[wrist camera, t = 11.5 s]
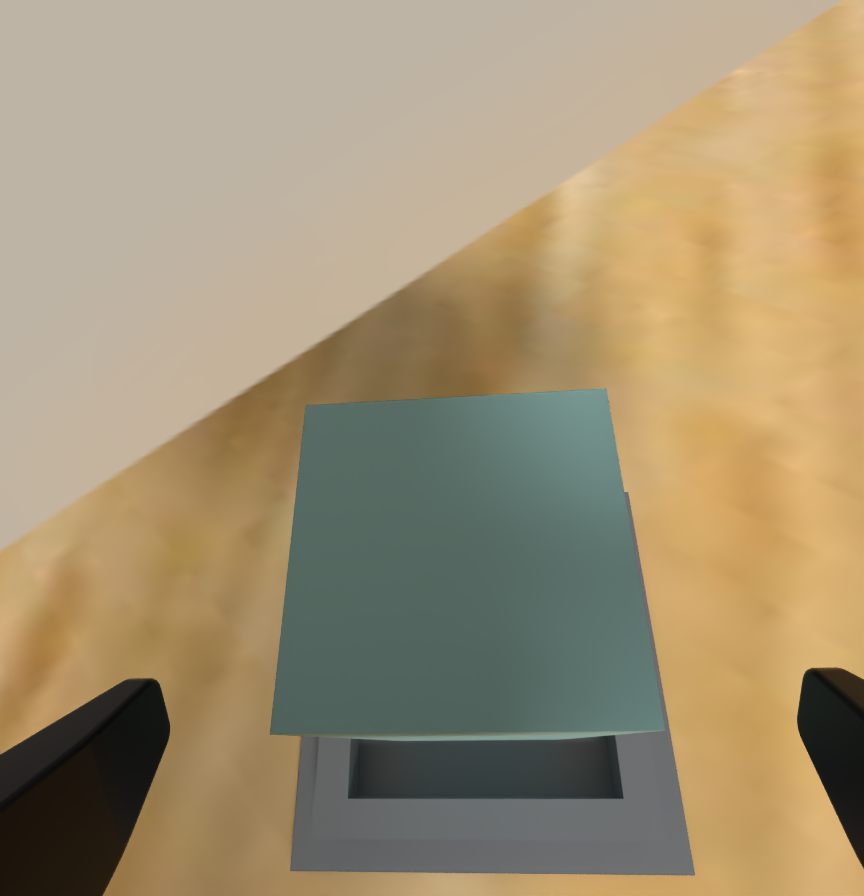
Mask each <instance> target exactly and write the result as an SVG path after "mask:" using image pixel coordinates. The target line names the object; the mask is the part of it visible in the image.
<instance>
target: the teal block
mask: <svg viewBox="0 0 864 896" xmlns="http://www.w3.org/2000/svg"><path fill="white" fill-rule="evenodd" d="M655 731H665V726H664V720H663V714H662V708H661V702H660V697H659V691H658V685H657V679H656V673H655V668H654V662H653V656H652V650H651V645H650V639H649V633H648V627H647V621H646V616H645V610H644V604H643V598H642V592H641V587H640V581H639V575H638V569H637V563H636V558H635V552H634V546H633V540H632V534H631V529H630V523H629V517H628V511H627V505H626V500H625V494H624V488H623V482H622V476H621V471H620V465H619V459H618V453H617V448H616V442H615V436H614V430H613V424H612V419H611V413H610V407H609V401H608V395H607V390H606V389H589V390H571V391H553V392H536V393H518V394H500V395H482V396H464V397H447V398H429V399H411V400H393V401H375V402H358V403H340V404H322V405H306V407H305V416H304V425H303V435H302V444H301V453H300V462H299V471H298V480H297V490H296V499H295V508H294V517H293V526H292V536H291V545H290V554H289V563H288V572H287V581H286V591H285V600H284V609H283V618H282V627H281V637H280V646H279V655H278V664H277V673H276V682H275V692H274V701H273V710H272V719H271V728H270V734H271V735H292V736H312V737H332V738H352V739H372V740H392V741H476V740H562V739H574V738H585V737H597V736H608V735H620V734H632V733H643V732H655Z"/></svg>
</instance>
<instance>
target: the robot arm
mask: <svg viewBox="0 0 864 896" xmlns="http://www.w3.org/2000/svg"><path fill="white" fill-rule="evenodd" d="M797 724H798V730H799V733H800V736H801V739H802V741H803V743H804V745H805V747H806V750H807V752H808V754H809V756H810V758H811V760H812V762H813V764H814V767H815V769H816V771H817V773H818V775H819V777H820V779H821V782H822V784H823V786H824V788H825V790H826V792H827V794H828V797H829V799H830V801H831V803H832V805H833V807H834V809H835V812H836V814H837V816H838V818H839V820H840V822H841V824H842V826H843V829H844V831H845V833H846V835H847V837H848V839H849V841H850V843H851V845H852V847H853V849H854V851H855V853H856V855H857V857H858V859H859V861H860V863H861V865H862V866H863V868H864V680H863V679H862V678H860V677H858V676H856V675H854V674H852V673H850V672H848V671H846V670H844V669H841V668H810V669H808V670H807V671H806V672H805V674H804V676H803V681H802V688H801V694H800V701H799V708H798V715H797ZM169 734H170V722H169V718H168V714H167V710H166V706H165V702H164V698H163V694H162V690H161V687H160V684H159V683H158V681H157V680H155V679H152V678H136V679H127V680H125V681H123V682H121V683H119V684H118V685H116V686H114V687H113V688H111V689H109V690H108V691H106V692H104V693H103V694H101V695H99V696H98V697H96V698H94V699H93V700H91V701H89V702H88V703H86V704H84V705H83V706H81V707H79V708H78V709H76V710H74V711H73V712H71V713H69V714H68V715H66V716H64V717H63V718H61V719H59V720H58V721H56V722H54V723H52V724H51V725H49V726H47V727H46V728H44V729H42V730H41V731H39V732H37V733H36V734H34V735H32V736H31V737H29V738H27V739H26V740H24V741H22V742H21V743H19V744H17V745H16V746H14V747H12V748H11V749H9V750H7V751H6V752H4V753H2V754H1V755H0V896H103V894H104V892H105V890H106V888H107V886H108V884H109V882H110V880H111V878H112V876H113V874H114V872H115V870H116V868H117V865H118V863H119V861H120V859H121V857H122V855H123V853H124V851H125V848H126V846H127V844H128V841H129V839H130V837H131V834H132V832H133V829H134V827H135V824H136V822H137V819H138V816H139V814H140V811H141V809H142V806H143V804H144V801H145V799H146V796H147V794H148V791H149V788H150V786H151V783H152V781H153V778H154V776H155V773H156V771H157V768H158V766H159V763H160V761H161V758H162V755H163V753H164V750H165V748H166V745H167V742H168V739H169Z"/></svg>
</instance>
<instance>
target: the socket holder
mask: <svg viewBox="0 0 864 896" xmlns="http://www.w3.org/2000/svg"><path fill="white" fill-rule="evenodd" d="M624 494H625V500H626V505H627V511H628V517H629V523H630V529H631V534H632V540H633V546H634V552H635V558H636V563H637V569H638V575H639V581H640V587H641V592H642V598H643V604H644V610H645V616H646V621H647V627H648V633H649V639H650V645H651V650H652V656H653V662H654V668H655V673H656V679H657V685H658V691H659V697H660V702H661V708H662V714H663V720H664V726H665V731H655V732H643V733H632V734H620V735H608V736H597V737H585V738H574V739H562V740H476V741H392V740H372V739H352V738H332V737H312V736H302V741H301V753H300V764H299V776H298V787H297V799H296V810H295V822H294V833H293V845H292V856H291V868H290V871H338V872H429V873H520V874H611V875H695V872H694V867H693V861H692V855H691V850H690V844H689V838H688V832H687V827H686V821H685V815H684V809H683V804H682V798H681V792H680V787H679V781H678V775H677V769H676V764H675V758H674V752H673V747H672V741H671V735H670V729H669V724H668V718H667V712H666V706H665V701H664V695H663V689H662V684H661V678H660V672H659V666H658V661H657V655H656V649H655V643H654V638H653V632H652V626H651V621H650V615H649V609H648V603H647V598H646V592H645V586H644V581H643V575H642V569H641V563H640V558H639V552H638V546H637V540H636V535H635V529H634V523H633V518H632V512H631V506H630V500H629V495H628V492H624Z"/></svg>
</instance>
